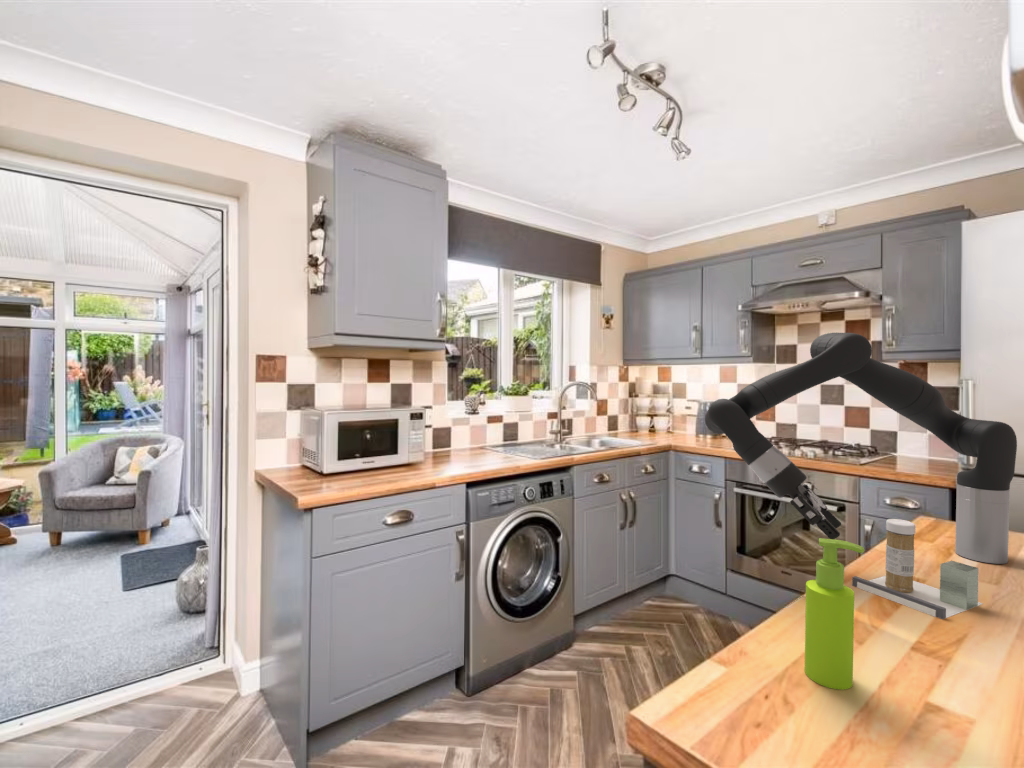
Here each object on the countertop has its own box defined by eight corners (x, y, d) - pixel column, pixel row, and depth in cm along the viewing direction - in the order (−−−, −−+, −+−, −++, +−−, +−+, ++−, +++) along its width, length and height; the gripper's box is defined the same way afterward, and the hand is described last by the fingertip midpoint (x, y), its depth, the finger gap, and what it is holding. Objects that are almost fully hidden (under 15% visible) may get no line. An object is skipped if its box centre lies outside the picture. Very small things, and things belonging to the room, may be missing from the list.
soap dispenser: (863, 697, 66) (865, 552, 66) (804, 680, 70) (806, 542, 70) (859, 675, 71) (862, 539, 71) (804, 660, 75) (807, 531, 75)
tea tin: (950, 596, 94) (951, 560, 94) (977, 605, 90) (978, 568, 90) (939, 600, 92) (940, 563, 92) (966, 610, 88) (967, 571, 88)
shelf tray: (892, 580, 105) (892, 565, 104) (982, 611, 91) (983, 594, 91) (851, 592, 99) (851, 577, 99) (942, 627, 85) (942, 609, 85)
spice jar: (906, 585, 99) (908, 519, 98) (918, 595, 94) (920, 526, 94) (880, 582, 100) (882, 517, 100) (890, 591, 96) (892, 523, 95)
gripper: (786, 465, 102) (852, 530, 95) (793, 456, 114) (852, 514, 107) (758, 487, 105) (820, 551, 99) (767, 476, 117) (823, 533, 110)
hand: (837, 532), depth 103 cm, fingers open, 8 cm apart
